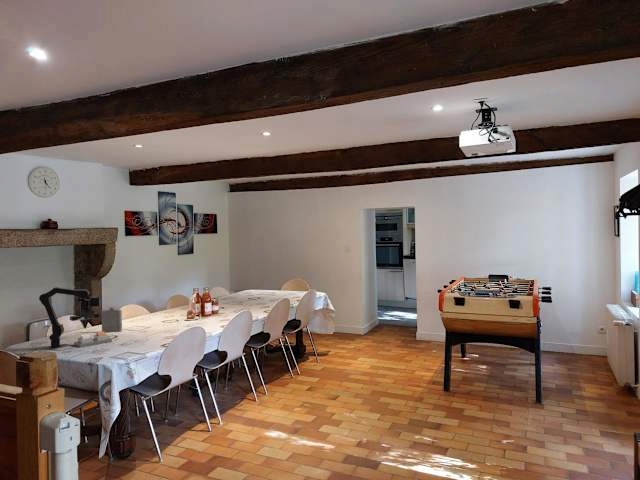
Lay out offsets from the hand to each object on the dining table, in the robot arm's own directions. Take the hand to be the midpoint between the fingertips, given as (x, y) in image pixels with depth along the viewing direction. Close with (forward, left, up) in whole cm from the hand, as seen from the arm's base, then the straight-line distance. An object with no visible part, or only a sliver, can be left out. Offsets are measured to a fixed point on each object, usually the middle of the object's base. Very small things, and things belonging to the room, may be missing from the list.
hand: (85, 328), depth 324 cm
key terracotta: (0, +11, -8) cm, 13 cm away
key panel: (0, +6, -12) cm, 13 cm away
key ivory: (0, 0, -8) cm, 8 cm away
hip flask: (-30, +32, -12) cm, 45 cm away
